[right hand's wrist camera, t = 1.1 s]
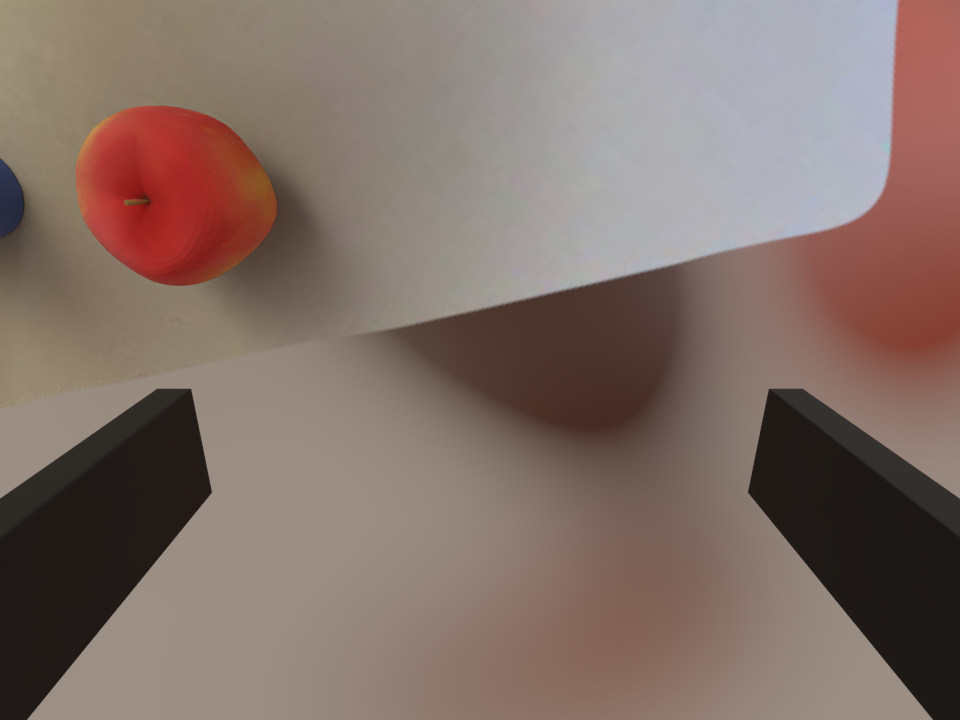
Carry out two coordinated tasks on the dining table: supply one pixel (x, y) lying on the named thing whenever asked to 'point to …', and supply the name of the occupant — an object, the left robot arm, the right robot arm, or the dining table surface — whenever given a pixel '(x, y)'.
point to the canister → (9, 200)
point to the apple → (173, 193)
